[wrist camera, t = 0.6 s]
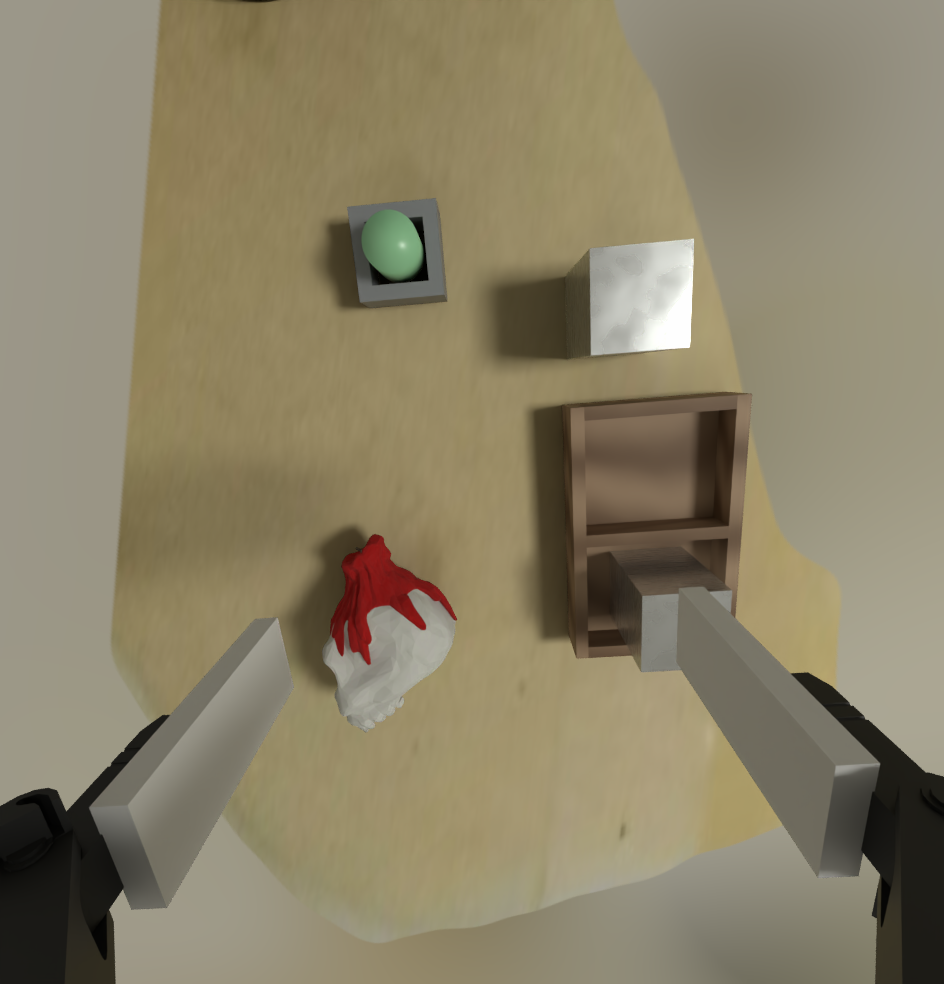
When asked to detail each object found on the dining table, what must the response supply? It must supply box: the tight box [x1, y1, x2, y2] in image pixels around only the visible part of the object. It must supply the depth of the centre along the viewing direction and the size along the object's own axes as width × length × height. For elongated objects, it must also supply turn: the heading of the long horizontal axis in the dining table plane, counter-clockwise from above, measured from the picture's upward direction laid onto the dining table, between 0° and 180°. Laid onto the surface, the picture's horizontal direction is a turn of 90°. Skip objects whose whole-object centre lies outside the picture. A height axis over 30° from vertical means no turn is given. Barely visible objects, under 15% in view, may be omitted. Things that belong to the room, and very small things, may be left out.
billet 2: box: [610, 546, 732, 672], centre depth 35 cm, size 6×6×8 cm
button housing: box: [347, 198, 447, 308], centre depth 33 cm, size 6×6×3 cm
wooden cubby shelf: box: [562, 392, 752, 659], centre depth 37 cm, size 21×13×4 cm, turn 5°
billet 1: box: [565, 239, 694, 359], centre depth 31 cm, size 6×6×8 cm
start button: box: [361, 210, 425, 283], centre depth 30 cm, size 4×4×4 cm
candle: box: [322, 534, 457, 732], centre depth 37 cm, size 9×11×15 cm
